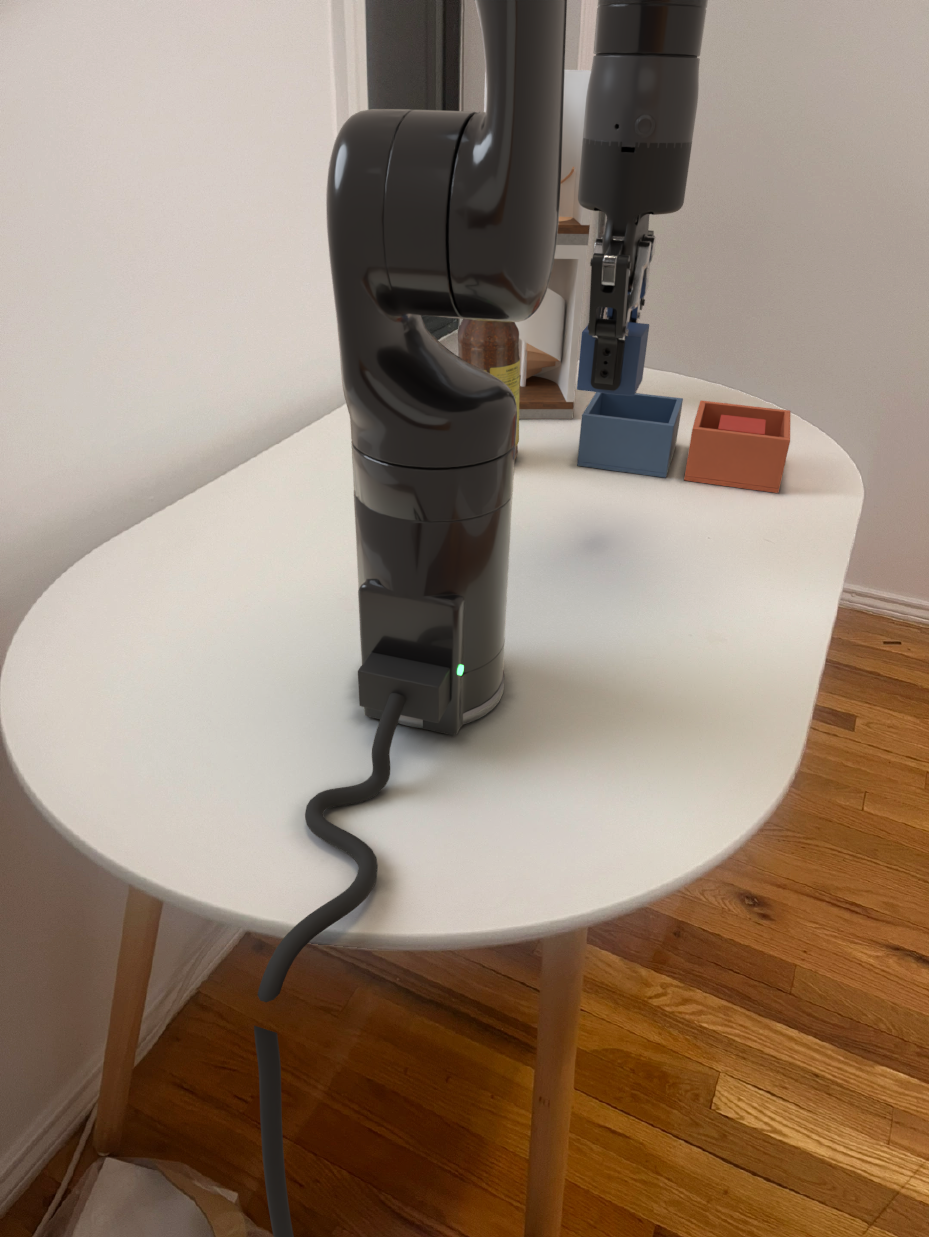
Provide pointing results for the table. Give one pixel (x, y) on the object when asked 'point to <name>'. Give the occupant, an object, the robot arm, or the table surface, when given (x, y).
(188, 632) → the table surface
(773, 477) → the red bin
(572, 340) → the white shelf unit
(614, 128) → the robot arm
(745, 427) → the red block
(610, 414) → the blue bin
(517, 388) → the sauce bottle
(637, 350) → the blue block
